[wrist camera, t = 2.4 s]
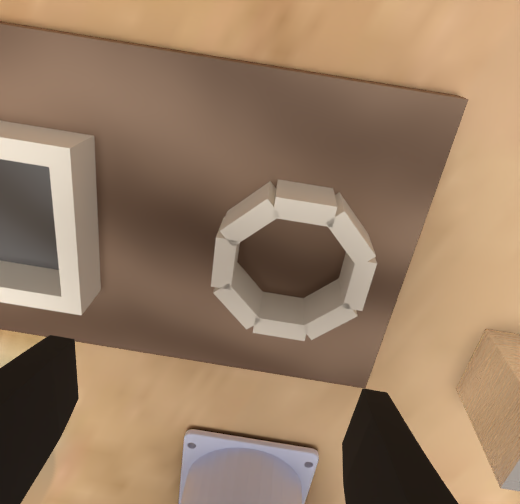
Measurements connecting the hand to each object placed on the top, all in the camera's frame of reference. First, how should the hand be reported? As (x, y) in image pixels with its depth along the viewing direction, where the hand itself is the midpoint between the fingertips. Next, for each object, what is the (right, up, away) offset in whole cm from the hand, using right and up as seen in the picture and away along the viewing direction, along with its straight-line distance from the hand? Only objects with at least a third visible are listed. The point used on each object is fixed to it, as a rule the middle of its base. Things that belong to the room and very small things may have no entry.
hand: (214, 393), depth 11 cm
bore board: (-3, +5, +8) cm, 10 cm away
